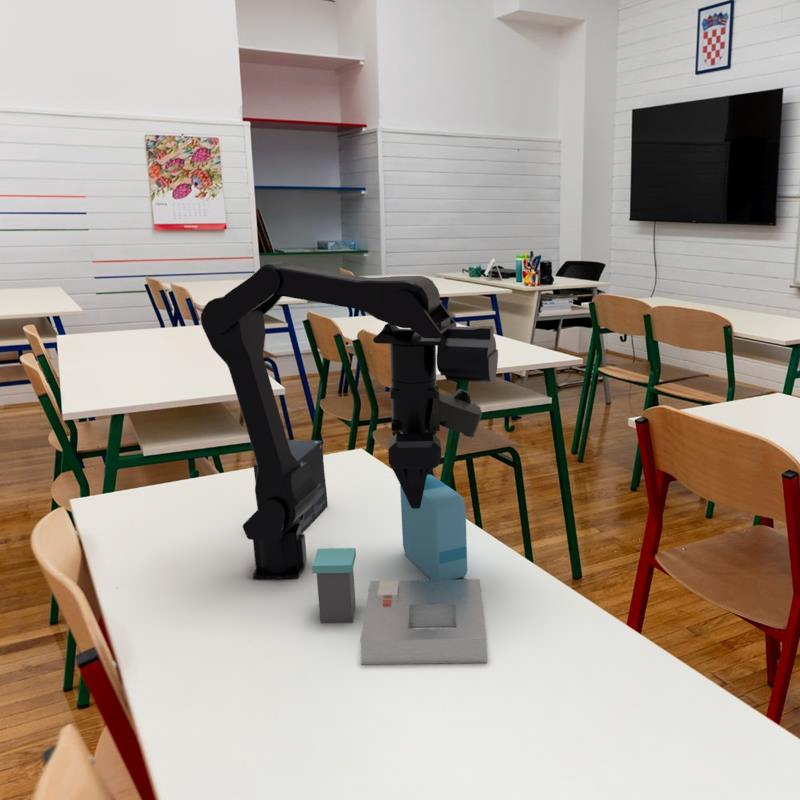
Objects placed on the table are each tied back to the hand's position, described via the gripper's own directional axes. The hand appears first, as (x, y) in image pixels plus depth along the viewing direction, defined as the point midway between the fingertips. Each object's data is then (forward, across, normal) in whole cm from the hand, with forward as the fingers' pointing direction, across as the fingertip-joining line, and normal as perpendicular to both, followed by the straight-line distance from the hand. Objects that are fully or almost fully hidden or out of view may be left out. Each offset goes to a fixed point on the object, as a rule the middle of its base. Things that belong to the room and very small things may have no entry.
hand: (415, 494), depth 101 cm
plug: (+13, -7, +10) cm, 18 cm away
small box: (+14, +24, +20) cm, 34 cm away
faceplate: (+13, -12, -1) cm, 17 cm away
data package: (+13, +5, -2) cm, 14 cm away
